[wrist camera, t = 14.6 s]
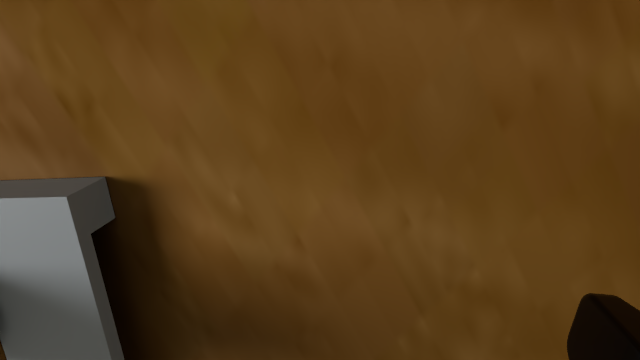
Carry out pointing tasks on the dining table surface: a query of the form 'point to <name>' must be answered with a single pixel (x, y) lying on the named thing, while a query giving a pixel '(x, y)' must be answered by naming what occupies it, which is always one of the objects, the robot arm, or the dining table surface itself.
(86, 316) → the keyhole plate
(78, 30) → the dining table surface
